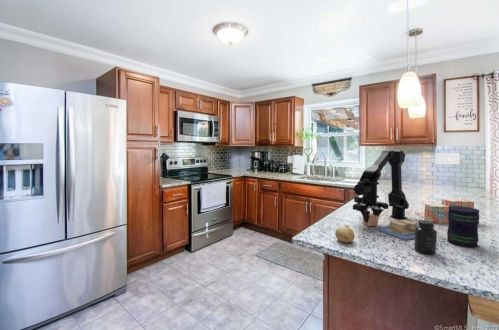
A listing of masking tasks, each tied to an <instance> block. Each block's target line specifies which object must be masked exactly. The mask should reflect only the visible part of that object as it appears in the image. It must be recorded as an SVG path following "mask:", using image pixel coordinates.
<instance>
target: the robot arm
mask: <svg viewBox="0 0 499 330" xmlns="http://www.w3.org/2000/svg"><path fill="white" fill-rule="evenodd" d="M405 159H406V153H405V152H404V151H403V150H392V149H386V150H382V151H381V154H380V155H379V156H378V158H377V159H376V160H375V161H374V163H373V164H372V165H371V166H370V165H369V167H367V168H366V169H364V170H363V172H362V173H361V176H360V179H359V181H357V183H356V184H355V185H354V187H353V192H354V193H355V194H356V195H358V196H354V199H353V202H354V203H353V205H352V210H355V211H357V212H360V213H361V214H362V219H363V218H364V221H365V223H367V222H368V219H369V214H371V211H372V214H374V215H377V216H378V218H379V217H380V215H381V214H382V213H383V211H384V210H388V209H389V207H392V209H391V215H389V217H391V218H394V219H397V220H406V219H408V217H407V216H406V210H408V209H409V207H410V204H409V202H408V200H407V197H406V194H405V193H404V191H403V189H402V188H403V186H402V185H403V184H402V183H403V182H402V180H403V179H402V165H403V164H404V162H405ZM387 164H389V165H390V166H391V168H390V169H391V174H390V175H391V190H390V193H388V194H387V195H388V199H387V201H388V203H387V202H382V201H378V199H379V198H380V196H379V195H378V185H380V183H379V182H378V181H379V179H380V178H381V176H382V170H383V169H384V168H385V166H386V165H387ZM360 196H361V197H360ZM369 209H371V210H369Z"/></svg>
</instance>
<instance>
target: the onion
mask: <svg viewBox="0 0 499 330" xmlns="http://www.w3.org/2000/svg"><path fill="white" fill-rule="evenodd" d="M334 234H335V237H336V239H337V241H338V242H340V243H345V244H349V242H350V243H352V242H353V241H354V240H355V236H356V235H355V232H354V230H353V229H352V228H351V227H350V226H349V225H347V224H344V226H339V227H338V228H337V229H336V230H335V233H334Z"/></svg>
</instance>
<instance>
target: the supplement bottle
mask: <svg viewBox="0 0 499 330" xmlns="http://www.w3.org/2000/svg"><path fill="white" fill-rule="evenodd" d="M434 225H435V223H433V222H431V221H427V220H424V219H419V220H418V223H417V227H416V228H415V239H414V242H413V243H414V251H415V252H417V253H419V254H421V255H422V254H423V255H426V256H434V255H436V254H437V238H438V232H437V231H436V229H435V226H434Z"/></svg>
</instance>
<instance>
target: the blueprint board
mask: <svg viewBox="0 0 499 330" xmlns="http://www.w3.org/2000/svg"><path fill="white" fill-rule="evenodd" d="M389 226H390V225H387V226H386V225H385V226H379V227H378V226H377V227H374V230H375V231H378V232H381V233H383V234H385V235H388V236H391V237H394V238H396V239H399V240H402V241H411V240H415V232H410V233H402V234H400V233H397V232H394V231H392V230H389Z"/></svg>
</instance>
